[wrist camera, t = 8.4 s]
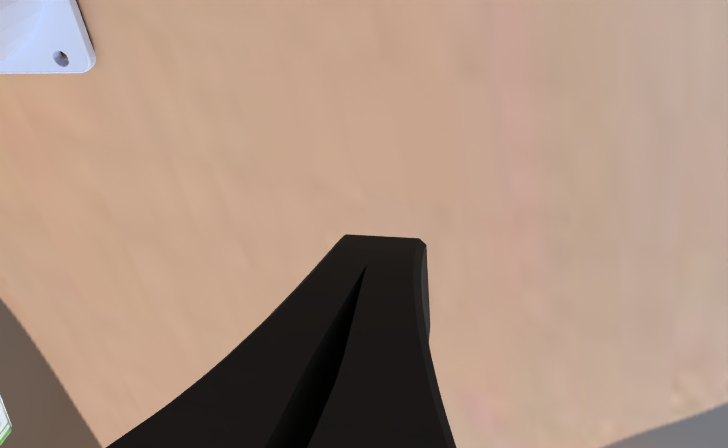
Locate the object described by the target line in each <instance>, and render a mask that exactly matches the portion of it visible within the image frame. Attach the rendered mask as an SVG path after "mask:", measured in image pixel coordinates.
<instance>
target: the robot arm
mask: <svg viewBox="0 0 728 448" xmlns="http://www.w3.org/2000/svg"><path fill="white" fill-rule="evenodd" d="M60 51H62V52H63V53H64V54H66V56H67V57H68V60H69V61H67V60H65V59H64V58H63V57H62V55H61V52H60ZM95 62H96V57H95V53H94V50H93V47H92V45H91V42H90V39H89V36H88V33H87V31H86V28H85V25H84V22H83V19H82V16H81V14H80V11H79V8H78V5H77V2H76V0H0V74H29V73H84V72H87V71H88V70H90V69H91V68H92V67H93V66H94V65H95ZM429 333H430V311H429V291H428V270H427V249H426V244H425V243H424V242H423V241H421V240H420V239H419V238H401V237H383V236H364V235H345V236H343V237H342V238H341V239H340V240H339V241H338V242H337V243H336V244H335V246H334V247H333V248H332V249H331V250H330V251H329V252H328V253H327V255H326V256H325V257H324V258H323V259H322V260H321V261H320V262H319V264H318V265H317V266H316V267H315V268H314V269H313V270H312V271H311V272H310V274H309V275H308V276H307V277H306V278H305V279H304V280H303V281H302V282H301V283H300V284H299V286H298V287H297V288H296V289H295V290H294V291H293V292H292V293H291V294H290V295H289V296H288V297H287V298H286V299H285V300H284V301H283V302H282V303H281V304H280V305H279V306H278V307H277V308H276V309H275V310H274V311H273V313H272V314H271V315H270V316H269V317H268V318H267V319H266V320H265V321H264V322H263V323H262V324H261V325H260V326H258V327H257V328H256V329H255V330H254V331H253V332H252V333H251V334H250V335H249V336H248V337H247V338H246V339H245V340H243V341H242V342H241V343H240V344H239V345H238V346H237V347H236V348H235V349H234V350H233V351H232V352H231V353H230V354H228V355H227V356H226V357H225V358H224V359H223V360H222V361H221V362H219V363H218V364H217V365H216V366H215V367H214V368H212V369H211V370H210V371H209V372H208V373H207V374H205V375H204V376H203V377H202V378H201V379H199V380H198V381H197V382H196V383H195V384H193V385H192V386H191V387H189V388H188V389H187V390H186V391H184V392H183V393H182V394H181V395H179V396H178V397H177V398H176V399H174V400H173V401H172V402H170V403H169V404H168V405H166V406H165V407H164V408H162V409H161V410H159V411H158V412H157V413H155V414H154V415H153V416H151V417H150V418H148V419H147V420H145V421H144V422H142V423H141V424H139V425H138V426H137V427H135V428H134V429H132V430H131V431H129V432H128V433H126V434H125V435H124V436H122V437H121V438H119V439H118V440H116V441H115V442H113V443H112V444H110V445H109V446H108V447H106V448H456V445H455V442H454V439H453V436H452V433H451V429H450V426H449V423H448V420H447V416H446V413H445V409H444V406H443V402H442V399H441V395H440V391H439V387H438V383H437V379H436V375H435V371H434V366H433V362H432V358H431V353H430V348H429Z"/></svg>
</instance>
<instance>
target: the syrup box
mask: <svg viewBox="0 0 728 448" xmlns="http://www.w3.org/2000/svg"><path fill="white" fill-rule="evenodd" d="M11 427H12V425H11V422H10V419H9V416H8V414H7V411H6V409H5V407H4V403H3V400H2V398H1V396H0V445H1V444H2V443H3V441H4V440H5V439H6V437H7V436H8V435H9V434H10V432H11Z"/></svg>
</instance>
